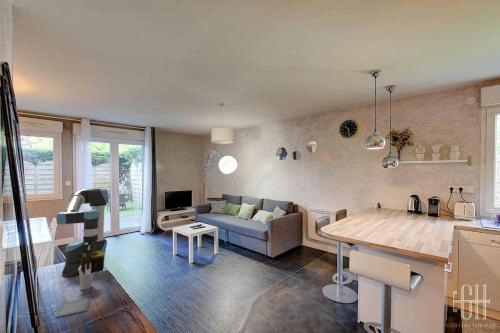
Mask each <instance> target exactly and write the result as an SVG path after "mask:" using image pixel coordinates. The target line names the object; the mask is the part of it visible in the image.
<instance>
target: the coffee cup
mask: <svg viewBox="0 0 500 333" xmlns="http://www.w3.org/2000/svg"><path fill="white" fill-rule="evenodd" d="M78 271H79V275H78V276H79V289H80V290H81V291H83V290H84V291H85V290H88V289H91V288H92V287H93V280H94V274H95V273H91V274H87V275H84V273H83V272H82V271H81V266H80V267H79V269H78Z"/></svg>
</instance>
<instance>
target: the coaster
mask: <svg viewBox="0 0 500 333" xmlns="http://www.w3.org/2000/svg"><path fill="white" fill-rule="evenodd" d="M91 299H92V297H86V298H81V299H76V300H72V301H71V300H70V301H66V302H62V304H61V306H60V307H59V309H58V311H57V313H56V315H55V316H54V318H56V319H57V318H62V317H65V316H71V315H77V314H80V313H85V312H86V313H87V311H88V308H89V306H90V302H91Z"/></svg>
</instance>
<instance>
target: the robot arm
mask: <svg viewBox="0 0 500 333" xmlns="http://www.w3.org/2000/svg"><path fill="white" fill-rule="evenodd" d="M109 199H110V198H109V191H108V189H107V188H83V189H80V190H79V189H78V190H77V191H75V192H73V193H72V194H71V195H70V196H69V198H68V204H67V205H66V207H65V209H64V211H61V212H58V213H57V214H56V219H55V220H56V221H55V222H56V224H57V225H60V226H61V225H71V224H72V225H73V224H83V230H81V231H82V234H83V235H82V236H83V237H82V239H81V240H76V241H73V242H70V243H68V244H67V245H66V246H65V257H64V258H65V262H64V266H63V269H62V271H61V276H62V277H64V278H71V277H77V276H79V271H78V269H79V267H80V266H81V263H82V256H83V253H86V259H85V263H84V264H85V275H87V274H91V255H92V252H95V251H101V252H102V253H103V254H105V255H106V250H107V245H108V240H107V239H106V237H105V236H104V229H105V228H104V227H105V208H106V207H107V204H108V203H109V202H110V201H109ZM85 204H86V205H89V207H90V208H91V209H87V210H82V211H80V209H81V207H82V205H85ZM87 261H88V262H87Z"/></svg>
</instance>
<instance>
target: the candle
mask: <svg viewBox="0 0 500 333" xmlns="http://www.w3.org/2000/svg"><path fill="white" fill-rule="evenodd" d="M105 257H106V253H105V254H103V253H102V252H101V251H95V252H92V255H91V273H94V274H95V273H98V272H103V271H104V268H105V267H104V266H105ZM85 259H86V253H83V256H82V263H81V271H82V272H83V273H84V275H85V264H84V263H85ZM87 262H88V261H87Z"/></svg>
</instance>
